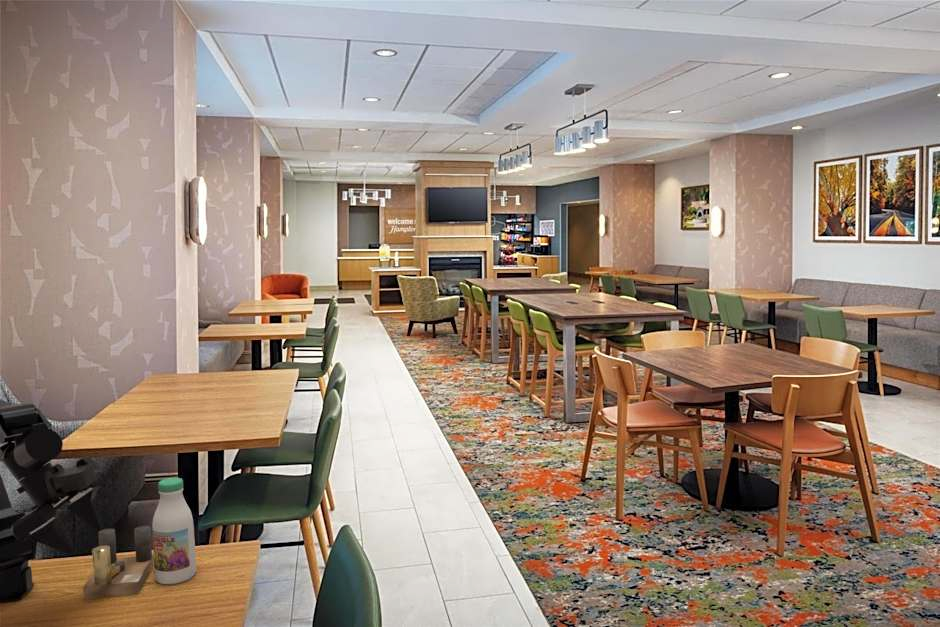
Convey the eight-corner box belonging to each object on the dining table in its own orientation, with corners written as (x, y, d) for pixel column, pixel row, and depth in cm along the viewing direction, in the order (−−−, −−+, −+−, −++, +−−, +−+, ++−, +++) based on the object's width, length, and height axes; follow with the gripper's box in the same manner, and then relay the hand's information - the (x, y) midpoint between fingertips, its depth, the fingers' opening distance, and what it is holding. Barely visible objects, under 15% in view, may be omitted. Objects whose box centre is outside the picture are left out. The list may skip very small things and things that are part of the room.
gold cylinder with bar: (109, 570, 139) (106, 539, 139) (123, 571, 139) (121, 539, 138) (90, 585, 133) (88, 552, 133) (105, 585, 133) (103, 552, 133)
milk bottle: (167, 567, 147) (162, 473, 145) (203, 568, 146) (198, 474, 144) (147, 584, 139) (141, 486, 137) (184, 586, 139) (179, 487, 137)
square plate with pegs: (83, 599, 134) (80, 553, 133) (104, 571, 146) (101, 529, 145) (138, 594, 136) (136, 549, 135) (155, 566, 147) (152, 524, 146)
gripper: (38, 468, 116) (95, 543, 118) (97, 431, 134) (145, 497, 137) (-15, 502, 117) (42, 576, 119) (50, 461, 135) (99, 526, 137)
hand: (86, 541), depth 128 cm, fingers open, 9 cm apart
